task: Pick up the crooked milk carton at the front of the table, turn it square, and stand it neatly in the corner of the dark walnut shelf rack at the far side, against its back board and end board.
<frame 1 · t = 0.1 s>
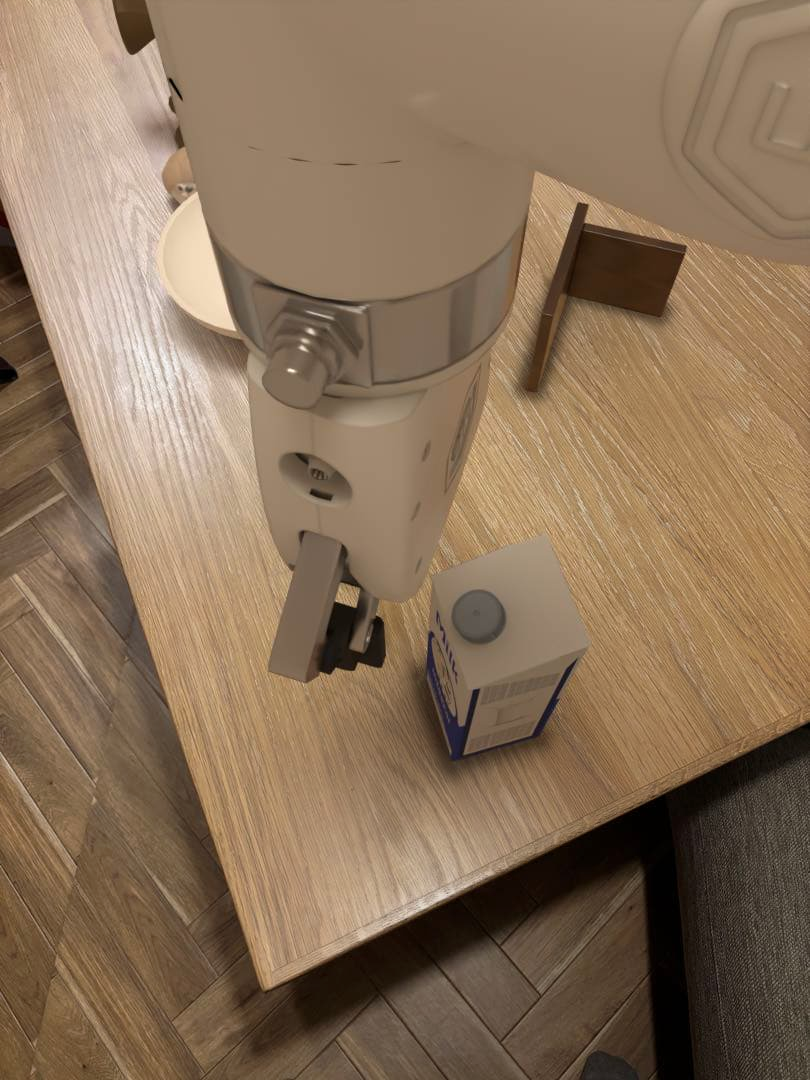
hand: (385, 547, 36), 30 cm above the table, tool pointing down, fingers open, 9 cm apart
bowl: (278, 301, 82), on the table
figurine: (263, 58, 98), on the table
milk carton: (481, 706, 64), on the table
shelf: (561, 277, 83), on the table
kendama: (201, 142, 92), on the table
garlic bulb: (205, 202, 88), on the table
bread roll: (365, 533, 71), on the table
saucer: (417, 142, 92), on the table
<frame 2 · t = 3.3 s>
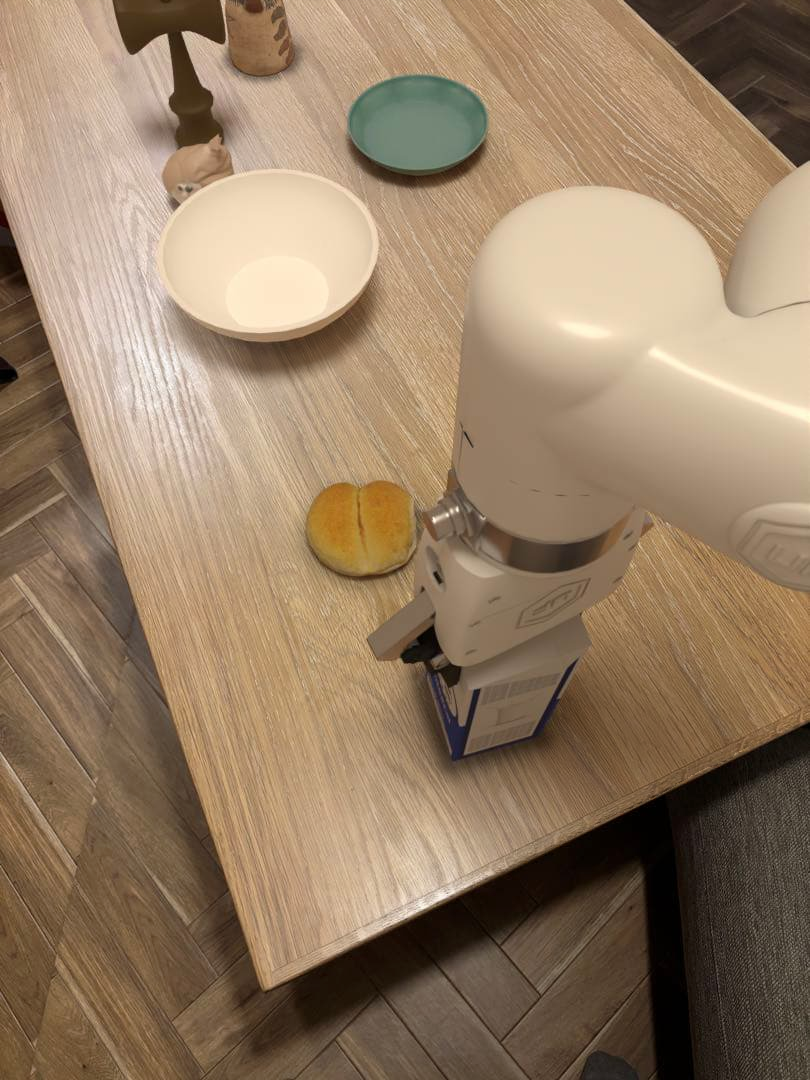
hand: (500, 633, 51), 15 cm above the table, tool pointing down, fingers closed on milk carton, 7 cm apart
milk carton: (481, 706, 64), on the table, touching gripper
everything else where it was.
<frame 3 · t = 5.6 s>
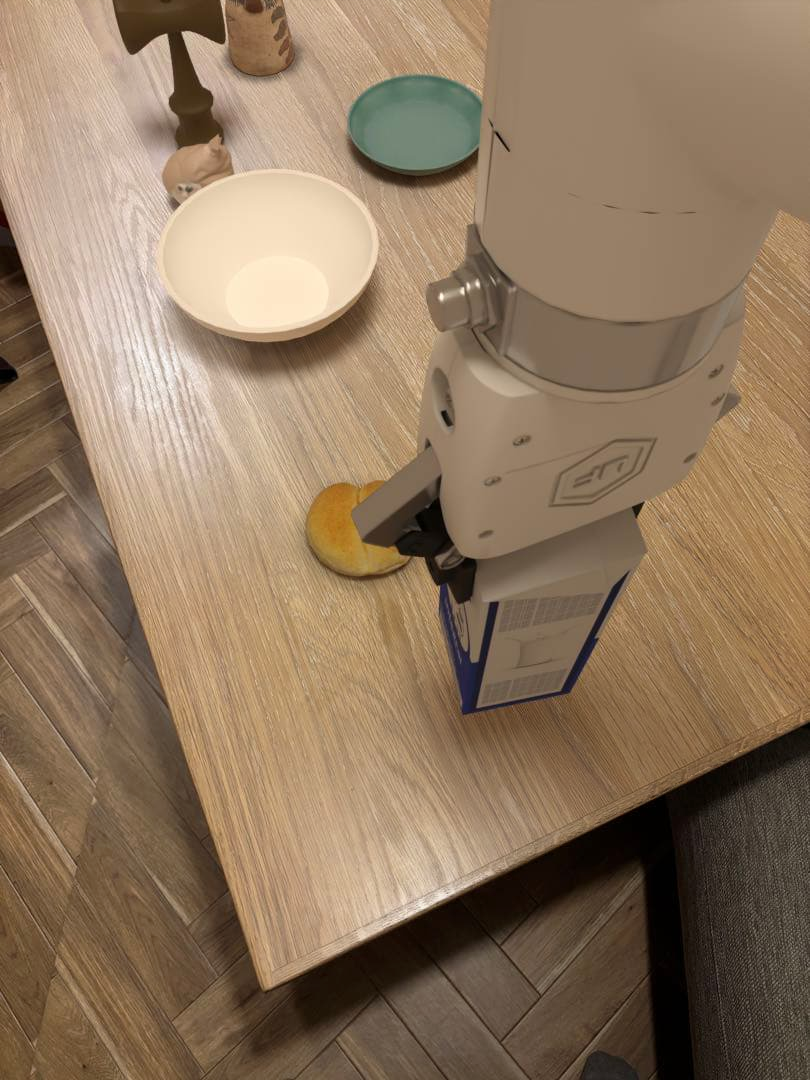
hand: (528, 544, 40), 27 cm above the table, tool pointing down, fingers closed on milk carton, 7 cm apart
milk carton: (502, 653, 54), point 12 cm above the table, touching gripper
everything else where it was.
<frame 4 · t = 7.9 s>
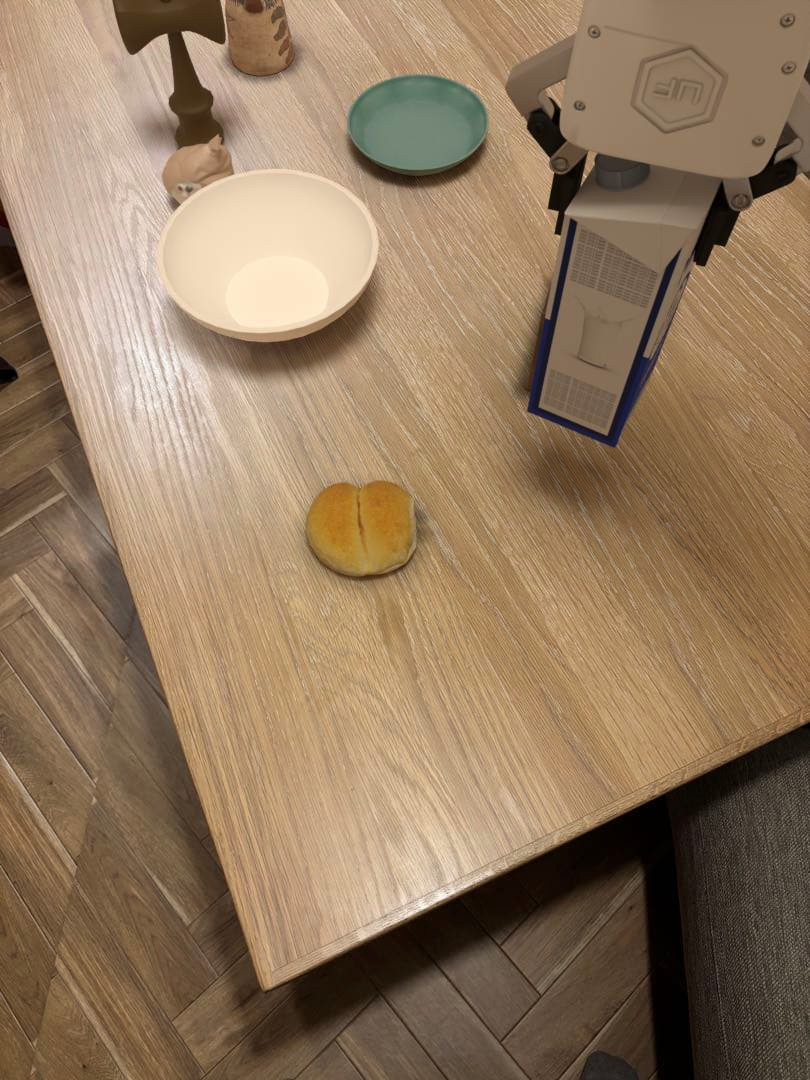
hand: (633, 231, 49), 27 cm above the table, tool pointing down, fingers closed on milk carton, 7 cm apart
milk carton: (588, 397, 62), point 12 cm above the table, touching gripper
everything else where it was.
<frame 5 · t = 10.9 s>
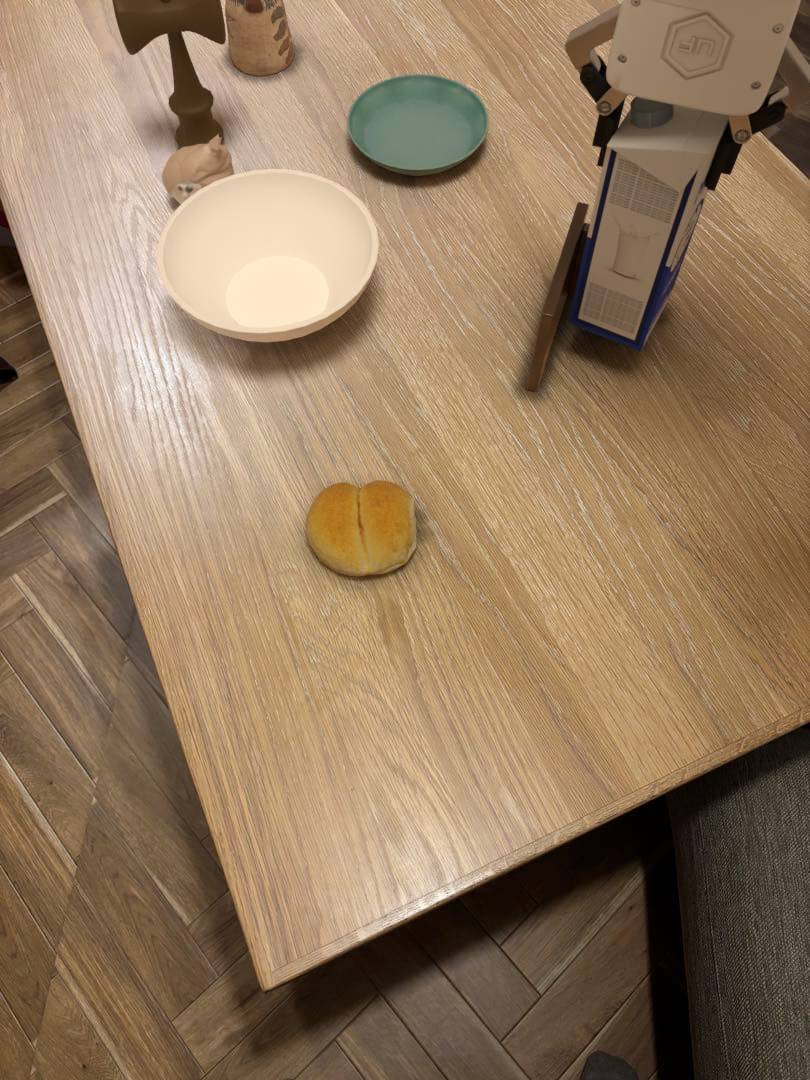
hand: (658, 164, 62), 20 cm above the table, tool pointing down, fingers closed on milk carton, 7 cm apart
milk carton: (618, 312, 76), point 4 cm above the table, touching gripper
everything else where it was.
when the fingers open (15 cm above the table, at t = 12.6 s): milk carton stays where it is, on the table.
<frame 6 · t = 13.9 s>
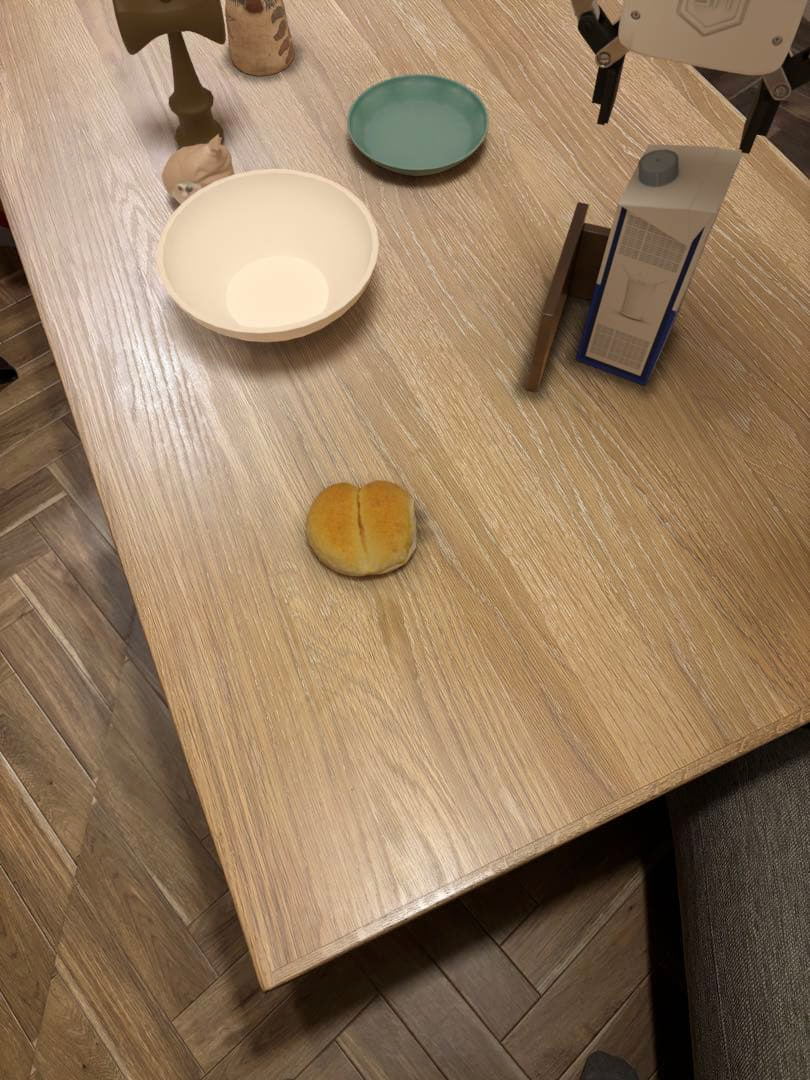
hand: (675, 126, 59), 23 cm above the table, tool pointing down, fingers open, 9 cm apart
milk carton: (622, 348, 80), on the table
everything else where it was.
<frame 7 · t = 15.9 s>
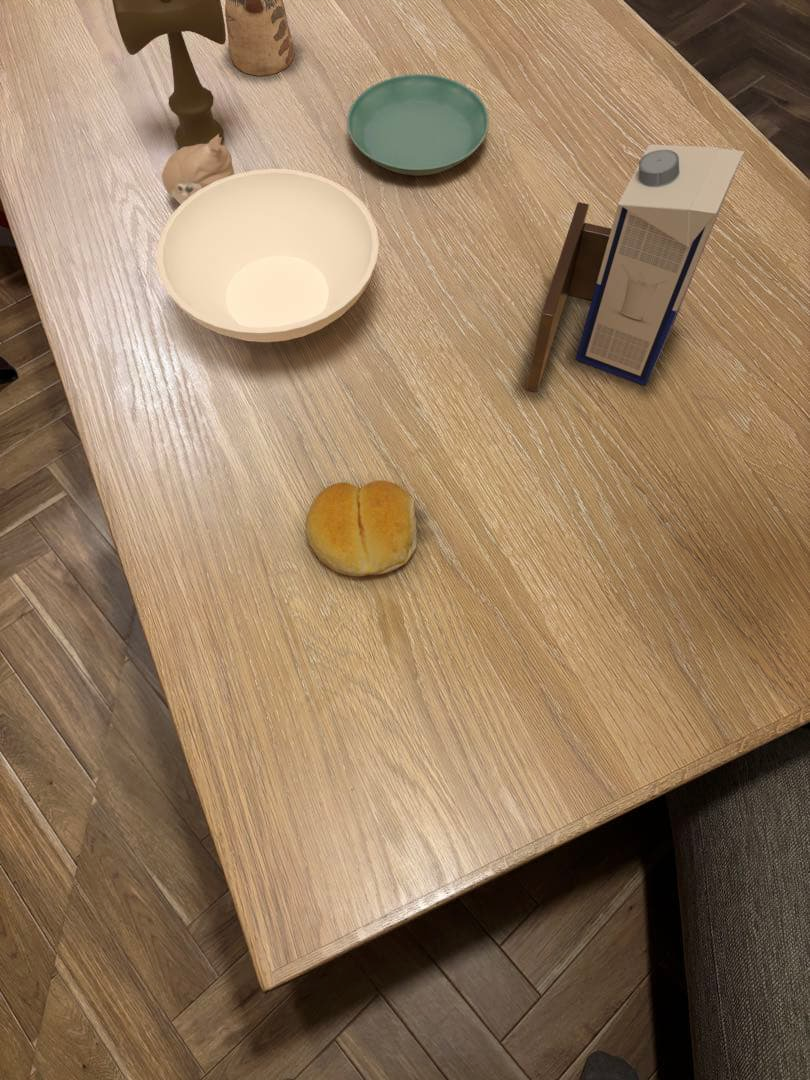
nothing on the table moved.
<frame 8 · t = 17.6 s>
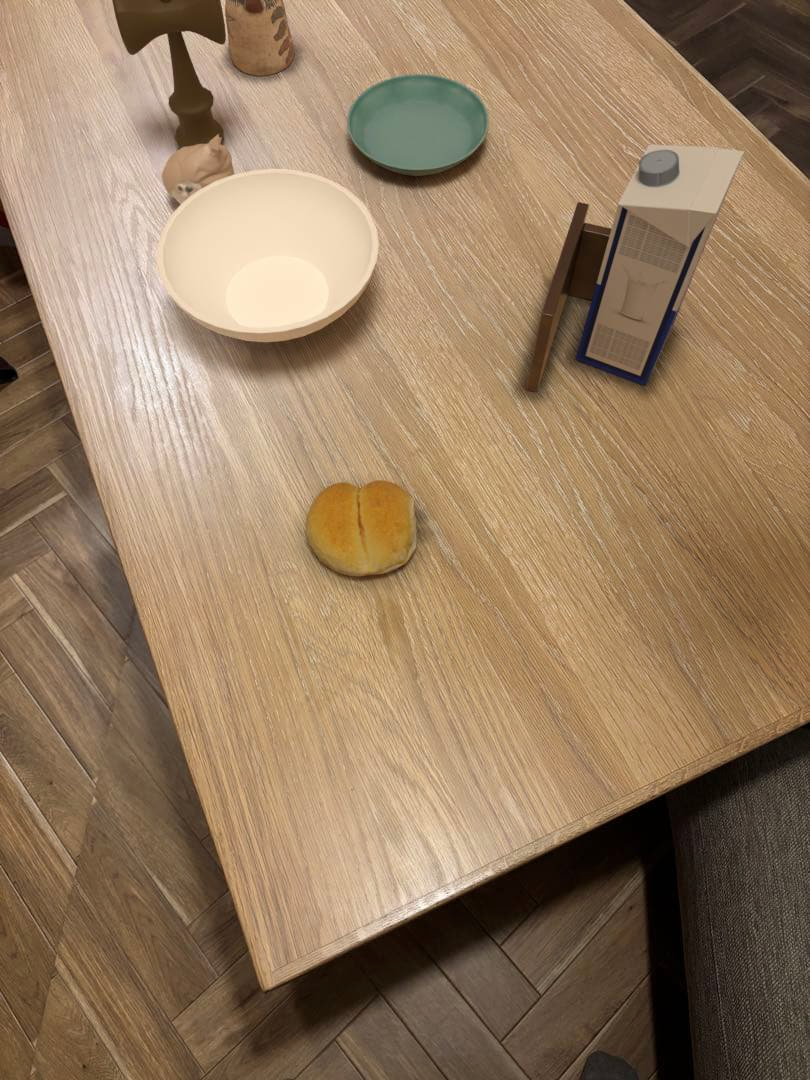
nothing on the table moved.
at the end: milk carton 1.6 cm from the target spot on the shelf, point 0.0 cm above the shelf's base; milk carton tilted 0°; the gripper is holding nothing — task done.
